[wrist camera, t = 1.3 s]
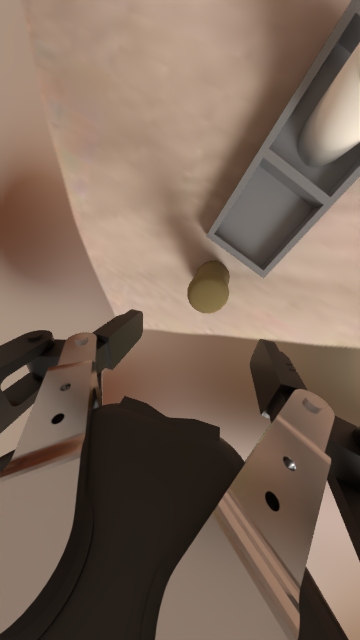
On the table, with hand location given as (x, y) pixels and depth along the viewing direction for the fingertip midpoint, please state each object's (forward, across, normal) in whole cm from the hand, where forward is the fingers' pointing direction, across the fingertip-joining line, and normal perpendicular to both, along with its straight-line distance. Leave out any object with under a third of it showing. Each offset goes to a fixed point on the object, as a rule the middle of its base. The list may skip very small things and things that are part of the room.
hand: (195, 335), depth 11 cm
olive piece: (+20, 0, 0) cm, 20 cm away
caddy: (+20, -7, -14) cm, 25 cm away
